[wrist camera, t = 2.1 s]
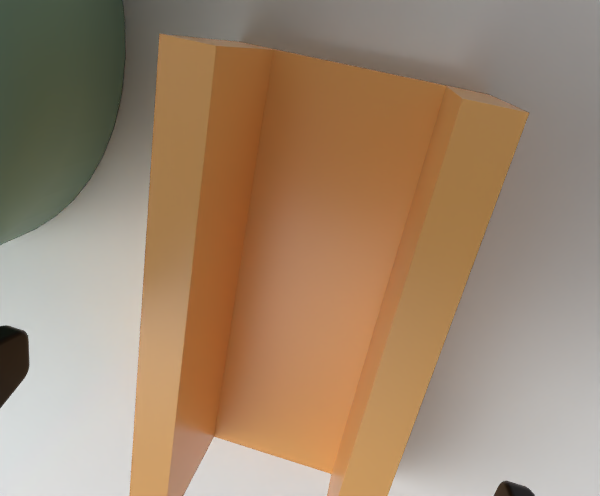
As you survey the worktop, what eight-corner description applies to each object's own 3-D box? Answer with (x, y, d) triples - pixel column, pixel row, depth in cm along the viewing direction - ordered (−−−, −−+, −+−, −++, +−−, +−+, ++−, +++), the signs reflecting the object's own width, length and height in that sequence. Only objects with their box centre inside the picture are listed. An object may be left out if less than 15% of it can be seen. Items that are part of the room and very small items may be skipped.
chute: (364, 464, 16) (348, 599, 12) (195, 411, 17) (128, 522, 13) (486, 93, 11) (529, 112, 7) (243, 42, 12) (159, 34, 8)
